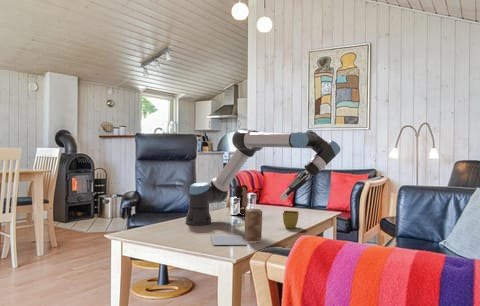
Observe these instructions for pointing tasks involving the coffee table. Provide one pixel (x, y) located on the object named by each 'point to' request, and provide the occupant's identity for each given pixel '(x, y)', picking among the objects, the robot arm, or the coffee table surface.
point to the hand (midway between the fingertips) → (281, 199)
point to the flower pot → (290, 218)
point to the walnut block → (253, 225)
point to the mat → (228, 240)
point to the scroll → (243, 192)
